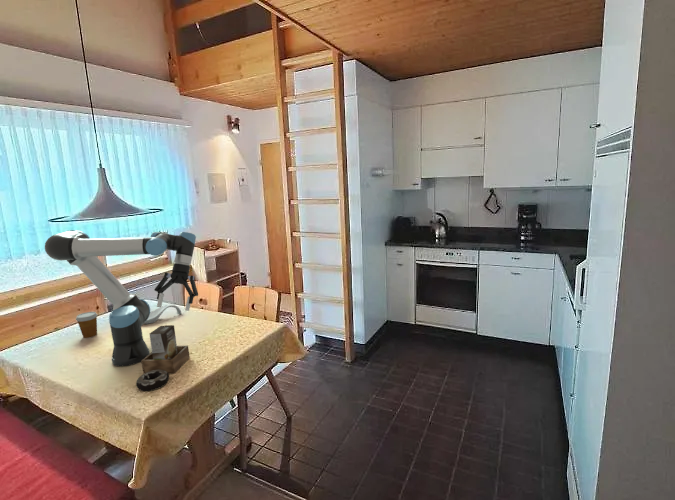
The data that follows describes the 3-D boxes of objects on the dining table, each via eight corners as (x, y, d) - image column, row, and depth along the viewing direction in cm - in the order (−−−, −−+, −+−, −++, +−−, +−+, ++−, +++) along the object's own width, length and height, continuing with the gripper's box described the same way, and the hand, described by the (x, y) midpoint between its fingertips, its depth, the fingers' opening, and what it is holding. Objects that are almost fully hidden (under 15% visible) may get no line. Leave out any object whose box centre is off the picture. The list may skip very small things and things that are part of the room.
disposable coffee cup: (75, 338, 193) (70, 317, 190) (90, 331, 202) (87, 311, 199) (89, 340, 190) (85, 318, 188) (105, 332, 199) (101, 311, 197)
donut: (173, 375, 151) (171, 366, 151) (164, 390, 140) (163, 381, 139) (143, 378, 150) (141, 369, 149) (132, 395, 138) (130, 385, 138)
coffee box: (168, 369, 154) (163, 333, 151) (154, 369, 155) (148, 333, 152) (179, 358, 163) (174, 324, 160) (165, 358, 164) (160, 325, 161)
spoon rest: (142, 327, 204) (140, 315, 203) (135, 322, 212) (133, 311, 211) (184, 315, 221) (182, 304, 219) (176, 311, 229) (174, 300, 228)
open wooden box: (143, 373, 153) (141, 360, 152) (160, 358, 166) (159, 346, 165) (174, 373, 152) (172, 360, 151) (189, 357, 165) (188, 345, 164)
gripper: (210, 268, 178) (202, 312, 174) (161, 262, 180) (151, 306, 175) (204, 266, 171) (195, 311, 167) (153, 260, 172) (142, 305, 168)
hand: (172, 308), depth 171 cm, fingers open, 13 cm apart
